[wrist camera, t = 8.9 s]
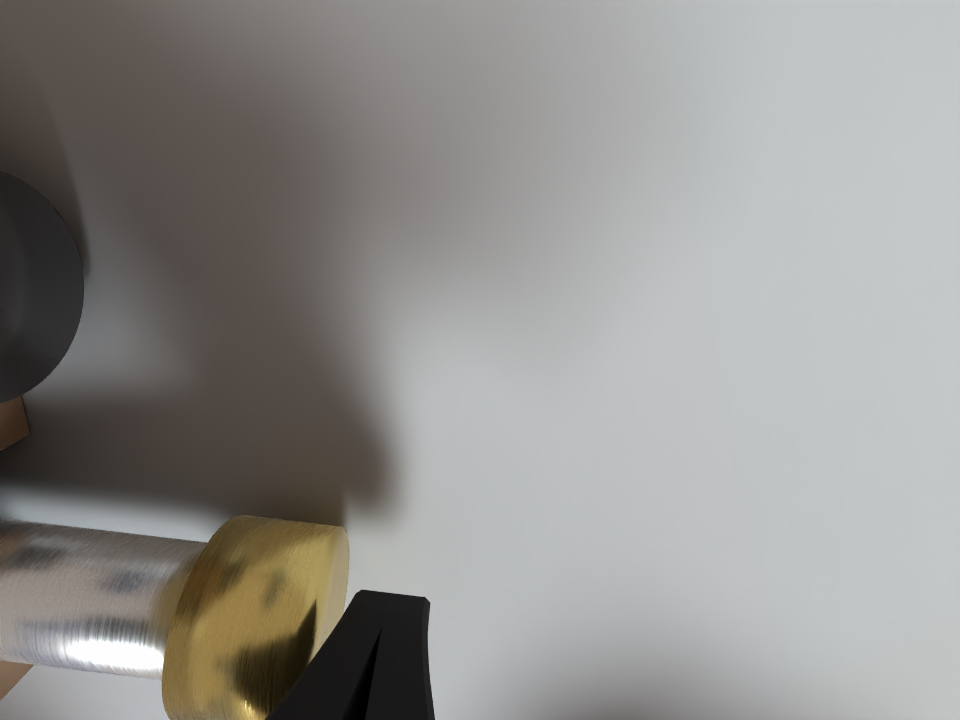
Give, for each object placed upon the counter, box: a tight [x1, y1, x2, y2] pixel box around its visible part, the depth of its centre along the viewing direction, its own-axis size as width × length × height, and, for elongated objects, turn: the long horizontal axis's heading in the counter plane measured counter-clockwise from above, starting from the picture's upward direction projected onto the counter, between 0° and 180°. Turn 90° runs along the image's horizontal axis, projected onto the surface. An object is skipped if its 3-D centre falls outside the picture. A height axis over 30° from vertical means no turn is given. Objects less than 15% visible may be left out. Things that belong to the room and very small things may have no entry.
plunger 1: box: [0, 515, 349, 720], centre depth 10 cm, size 4×10×4 cm, turn 84°
